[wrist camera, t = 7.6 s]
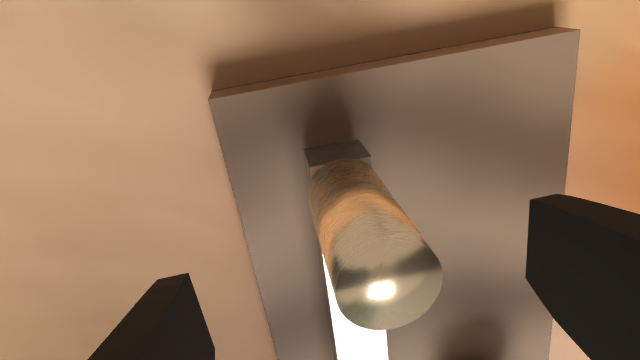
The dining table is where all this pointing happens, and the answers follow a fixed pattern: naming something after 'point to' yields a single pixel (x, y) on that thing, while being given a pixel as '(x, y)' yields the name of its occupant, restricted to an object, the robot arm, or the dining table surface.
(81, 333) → the dining table surface
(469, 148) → the base
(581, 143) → the dining table surface
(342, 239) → the lever
